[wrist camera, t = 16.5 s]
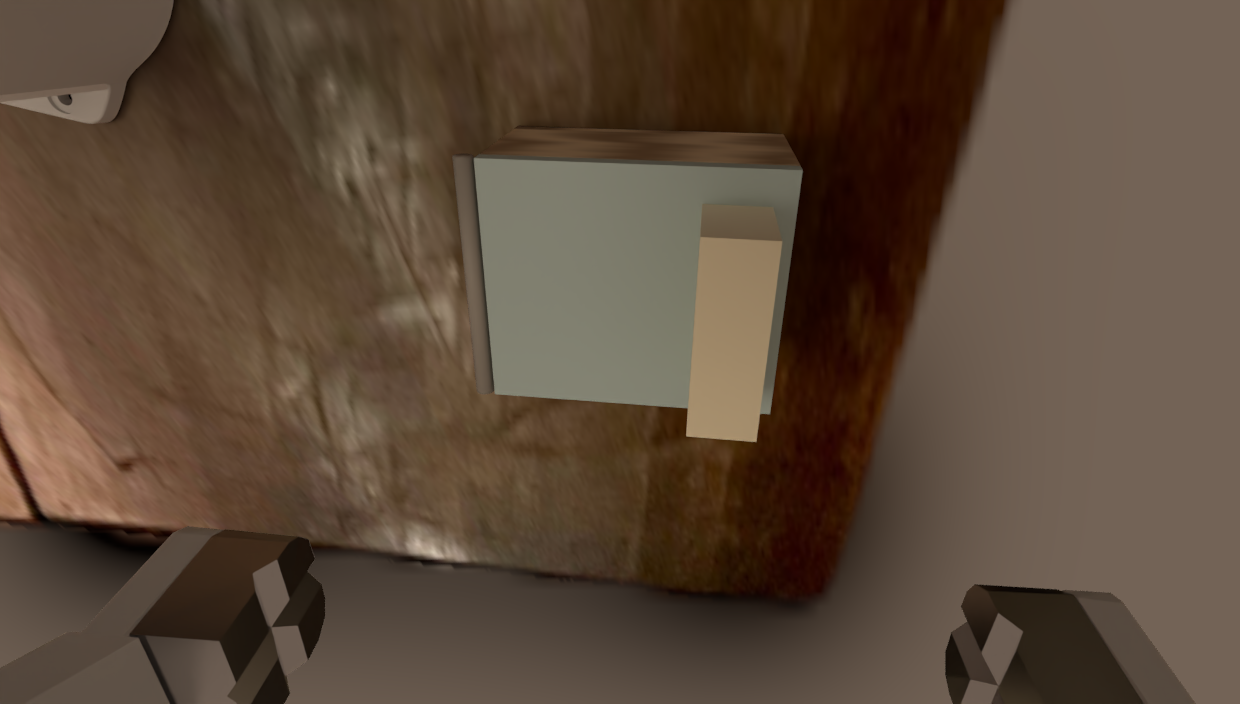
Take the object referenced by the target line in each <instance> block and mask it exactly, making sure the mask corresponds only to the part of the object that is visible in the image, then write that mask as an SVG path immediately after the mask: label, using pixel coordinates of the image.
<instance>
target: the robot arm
mask: <svg viewBox="0 0 1240 704" xmlns="http://www.w3.org/2000/svg"><path fill="white" fill-rule="evenodd" d="M173 2H174V0H0V103H2V104H6V105H10V106H15V107H19V108H23V109H27V110H32V111H36V112H40V113H44V114H48V115H53V116H57V117H61V118H65V119H70V120H74V121H78V122H82V123H88V124H96V123H107V122H110V121H112V120H113V119H114V118H115V117H116V115H117V113H118V111H119V109H120V106H121V103H122V99H123V95H124V92H125V87H126V83H127V80H128V79H129V77H130V76H131V74H132V73H133V72H134V71H135V70H136V69H137V68H138V67H139V66H140V65H141V64H142V63H143V62H144V61H145V60H146V59H147V58H148V57H149V56H150V55H151V54H152V52H153V51H154V50H155V49H156V47H157V46H158V44H159V42H160V41H161V39H162V37H163V35H164V33H165V31H166V28H167V26H168V23H169V20H170V17H171V12H172V8H173ZM68 94H70V95H71V97H72V100H71V99H70V98H69V96H68ZM314 560H315V557H314V554H313V551H312V548H311V545H310V542H309V540H308V539H305V538H302V537H299V536H288V535H278V534H268V533H258V532H248V531H238V530H227V529H225V530H220V529H210V528H200V527H189V526H187V527H185V528H183V529H181V530H179V531H176V532H174V533H173V534H172V535H171V536H170V537H169V538H168V539H167V540H166V541H165V542H164V543H163V544H162V545H161V547H160V548H159V549H158V550H157V551H156V552H155V553H154V554H153V555H152V556H151V557H150V558H149V560H148V561H147V562H146V563H145V564H144V565H143V566H142V567H141V568H140V569H139V570H138V571H137V572H136V574H135V575H134V576H133V577H132V578H131V579H130V580H129V581H128V582H127V583H126V584H125V585H124V586H123V588H122V589H121V590H120V591H119V592H118V593H117V594H116V595H115V596H114V597H113V598H112V599H111V600H110V602H109V603H108V604H107V605H106V606H105V607H104V608H103V609H102V610H101V611H100V612H99V613H98V615H97V616H96V617H95V618H94V619H93V620H92V621H91V622H90V623H89V624H88V625H87V627H85V629H84V630H83V631H82V632H67V633H65V634H63V635H61V636H59V637H57V638H55V639H53V640H51V641H50V642H48V643H46V644H44V645H42V646H40V647H39V648H36V649H35V650H33V651H31V652H29V653H27V654H25V655H24V656H22V657H20V658H18V659H16V660H14V661H12V662H10V663H8V664H7V665H5V666H3V667H1V668H0V704H284V703H285V702H286V700H287V698H288V696H289V694H290V691H289V685H288V680H287V675H289V674H290V673H291V672H293V671H294V670H296V669H297V668H298V667H300V666H301V665H303V664H304V663H305V662H307V661H308V660H309V658H310V656H311V654H312V652H313V650H314V648H315V646H316V644H317V642H318V641H319V637H320V634H321V630H322V626H323V623H324V619H325V595H324V591H323V587H322V584H321V583H320V582H319V581H318V580H317V579H315V578H314V577H313V576H312V575H311V574H310V573H309V572H308V569H309V568H310V566H311V564H312V563H313V561H314ZM961 608H962V610H963V612H964V615H965V617H966V619H967V622H966V623H964V624H963V625H962V626H960V627H959V628H957V629H956V630H954V631H953V632H951V635H950V639H949V642H948V645H947V648H946V652H945V675H946V681H947V685H948V690H949V695H950V697H951V700H952V703H953V704H1196V703H1195V702H1194V700H1193V699H1192V698H1191V696H1190V695H1189V693H1188V692H1187V691H1186V689H1185V688H1184V686H1183V685H1182V684H1181V682H1180V681H1179V680H1178V678H1177V677H1176V675H1175V674H1174V673H1173V671H1172V670H1171V668H1170V667H1169V666H1168V664H1167V663H1166V661H1165V660H1164V659H1163V657H1162V656H1161V654H1160V653H1159V652H1158V650H1157V649H1156V648H1155V646H1154V645H1153V643H1152V642H1151V641H1150V639H1149V638H1148V636H1147V635H1146V634H1145V632H1144V631H1143V630H1142V628H1141V627H1140V625H1139V624H1138V623H1137V621H1136V620H1135V618H1134V617H1133V616H1132V614H1131V613H1130V611H1129V610H1128V609H1127V607H1126V606H1125V604H1124V603H1123V602H1122V601H1121V600H1120V599H1118V598H1117V597H1115V596H1114V595H1113V594H1111V593H1104V592H1088V591H1073V590H1063V591H1060V590H1057V589H1043V588H1042V589H1041V588H1026V587H1010V586H1009V587H1008V586H993V585H978V584H975V585H974V586H972V587H971V588H970V589H969V590H968V591H967V593H966V595H965V598H964V600H963V603H962V605H961Z"/></svg>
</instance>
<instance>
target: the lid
mask: <svg viewBox="0 0 1240 704" xmlns="http://www.w3.org/2000/svg"><path fill="white" fill-rule="evenodd" d="M452 157H453V167H454V177H455V186H456V196H457V205H458V215H459V224H460V234H461V243H462V253H463V262H464V272H465V282H466V291H467V301H468V310H469V320H470V329H471V339H472V348H473V358H474V368H475V377H476V387H477V392H478V393H480V394H489V393H492V392H493V391H494V389H495V394H501V395H515V396H528V397H542V398H556V399H569V400H583V401H597V402H610V403H624V404H638V405H651V406H665V407H679V408H688V399H689V383H690V369H691V355H692V341H693V327H694V313H695V299H696V285H697V271H698V257H699V243H700V229H701V215H702V204H718V205H739V206H761V207H773V208H774V212H775V216H776V219H777V223H778V227H779V230H780V234H781V238H782V249H781V256H780V264H779V272H778V279H777V287H776V295H775V302H774V310H773V318H772V325H771V333H770V340H769V348H768V356H767V363H766V371H765V379H764V386H763V394H762V402H761V409H760V414H770V410H771V403H772V395H773V388H774V381H775V373H776V366H777V358H778V351H779V343H780V336H781V329H782V321H783V314H784V306H785V299H786V291H787V284H788V277H789V269H790V262H791V254H792V247H793V239H794V232H795V225H796V217H797V210H798V202H799V195H800V187H801V180H802V173H803V170H802V168H801V166H790V165H762V164H735V163H707V162H680V161H652V160H625V159H597V158H570V157H542V156H515V155H487V154H479V155H477V156H476V157H475V158H473V155H472V154H456V155H453V156H452ZM474 167H475V169H474ZM475 178H476V180H475ZM476 189H477V191H476ZM477 201H478V202H477ZM478 212H479V213H478ZM479 223H480V224H479ZM480 234H481V235H480ZM481 245H482V246H481ZM482 256H483V257H482ZM483 267H484V269H483ZM484 278H485V280H484ZM485 289H486V291H485ZM486 300H487V302H486ZM487 311H488V313H487ZM488 322H489V324H488ZM489 333H490V335H489ZM490 344H491V346H490ZM491 356H492V357H491ZM492 367H493V368H492ZM493 378H494V379H493Z"/></svg>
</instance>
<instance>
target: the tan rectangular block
mask: <svg viewBox="0 0 1240 704" xmlns="http://www.w3.org/2000/svg"><path fill="white" fill-rule="evenodd" d="M781 249H782V238H781V234H780V230H779V227H778V223H777V219H776V216H775V212H774V208H773V207H761V206H739V205H718V204H702V215H701V229H700V243H699V257H698V271H697V285H696V299H695V313H694V327H693V341H692V355H691V369H690V383H689V399H688V416H687V432H686V436H688V437H700V438H713V439H725V440H738V441H750V442H756V440H757V432H758V424H759V417H760V409H761V402H762V394H763V386H764V379H765V371H766V363H767V356H768V348H769V340H770V333H771V325H772V318H773V310H774V302H775V295H776V287H777V279H778V272H779V264H780V256H781Z"/></svg>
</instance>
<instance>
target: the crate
mask: <svg viewBox="0 0 1240 704" xmlns="http://www.w3.org/2000/svg"><path fill="white" fill-rule="evenodd" d="M480 154H487V155H515V156H542V157H570V158H597V159H625V160H652V161H680V162H707V163H735V164H762V165H790V166H800V164H799V162H798V160H797V158H796V156H795V155H794V153H793V151H792V149H791V147H790V145H789V144H788V142H787V140H786V138H785V136H784V134H764V133H730V132H696V131H662V130H629V129H595V128H561V127H528V126H517V127H516V128H514V129H513V130H512V131H510V132H509V133H508V134H506V135H505V136H503V137H502V138H501V139H499V140H498V141H497V142H495V143H494V144H492V145H491V146H490V147H488V148H487V149H486V150H484V151H483V152H482V153H480Z"/></svg>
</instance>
